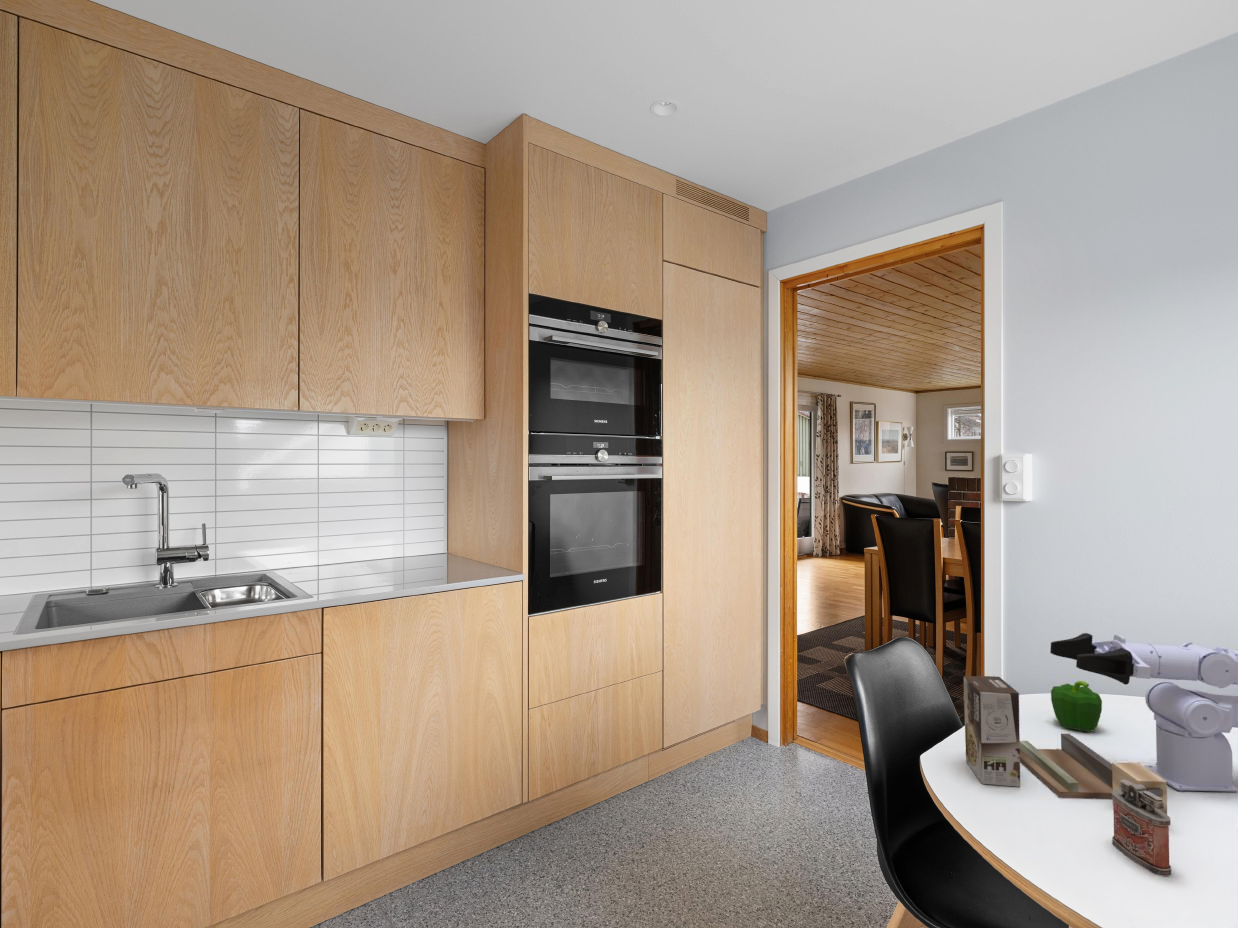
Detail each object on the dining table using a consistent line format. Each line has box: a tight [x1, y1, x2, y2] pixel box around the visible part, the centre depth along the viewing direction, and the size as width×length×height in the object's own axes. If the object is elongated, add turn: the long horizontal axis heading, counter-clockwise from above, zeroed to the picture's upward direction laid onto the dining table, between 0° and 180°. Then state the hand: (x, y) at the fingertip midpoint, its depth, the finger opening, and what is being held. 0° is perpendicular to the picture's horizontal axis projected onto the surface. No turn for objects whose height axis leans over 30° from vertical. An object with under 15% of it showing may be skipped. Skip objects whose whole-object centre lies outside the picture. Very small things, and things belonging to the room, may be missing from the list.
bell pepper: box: [1050, 680, 1103, 732], centre depth 134 cm, size 8×8×10 cm
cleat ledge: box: [1020, 733, 1113, 800], centre depth 115 cm, size 12×16×4 cm
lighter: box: [1111, 780, 1172, 877], centre depth 91 cm, size 8×3×10 cm, turn 5°
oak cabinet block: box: [1111, 762, 1168, 815], centre depth 101 cm, size 4×7×7 cm, turn 174°
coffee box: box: [963, 675, 1021, 788], centre depth 116 cm, size 9×6×16 cm
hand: (1064, 654), depth 114 cm, fingers open, 7 cm apart
